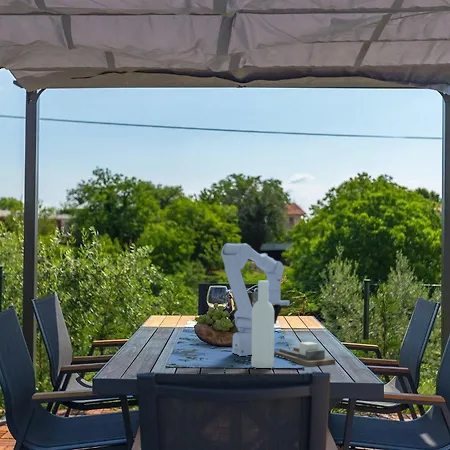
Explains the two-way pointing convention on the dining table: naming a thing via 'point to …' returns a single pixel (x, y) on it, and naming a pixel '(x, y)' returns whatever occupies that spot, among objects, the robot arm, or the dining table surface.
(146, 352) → the dining table surface
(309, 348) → the pale grey cube
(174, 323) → the dining table surface
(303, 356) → the rail board
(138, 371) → the dining table surface
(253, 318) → the bottle
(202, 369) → the dining table surface
